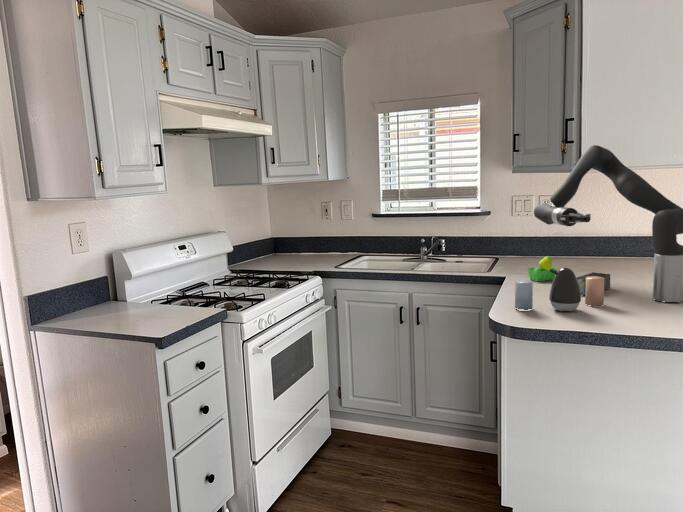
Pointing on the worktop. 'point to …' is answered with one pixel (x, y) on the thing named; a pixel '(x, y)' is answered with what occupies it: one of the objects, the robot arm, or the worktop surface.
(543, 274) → the fruit basket
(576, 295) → the pump dispenser
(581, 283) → the beverage carton
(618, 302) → the worktop surface
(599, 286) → the terracotta canister
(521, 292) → the slate-blue canister
